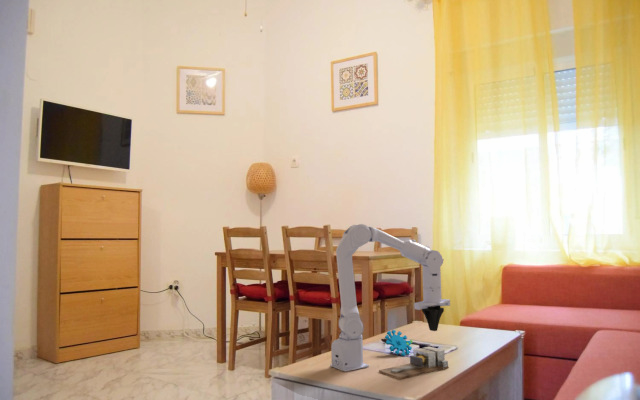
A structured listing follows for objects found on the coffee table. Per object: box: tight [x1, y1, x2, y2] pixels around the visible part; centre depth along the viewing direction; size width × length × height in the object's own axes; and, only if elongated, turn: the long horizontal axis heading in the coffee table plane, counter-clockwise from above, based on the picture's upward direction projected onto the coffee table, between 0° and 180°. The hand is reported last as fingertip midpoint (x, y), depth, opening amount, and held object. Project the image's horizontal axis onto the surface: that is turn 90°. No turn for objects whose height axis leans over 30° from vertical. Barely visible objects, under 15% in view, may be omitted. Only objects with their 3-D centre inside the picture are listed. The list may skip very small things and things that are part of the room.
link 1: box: [413, 348, 436, 368], centre depth 148 cm, size 3×8×4 cm, turn 34°
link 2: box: [422, 346, 449, 367], centre depth 149 cm, size 3×8×4 cm, turn 34°
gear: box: [384, 329, 414, 357], centre depth 166 cm, size 11×6×10 cm
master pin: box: [409, 355, 426, 367], centre depth 148 cm, size 10×4×2 cm, turn 124°
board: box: [378, 362, 449, 380], centre depth 145 cm, size 20×9×1 cm, turn 124°
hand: (433, 330), depth 154 cm, fingers closed
